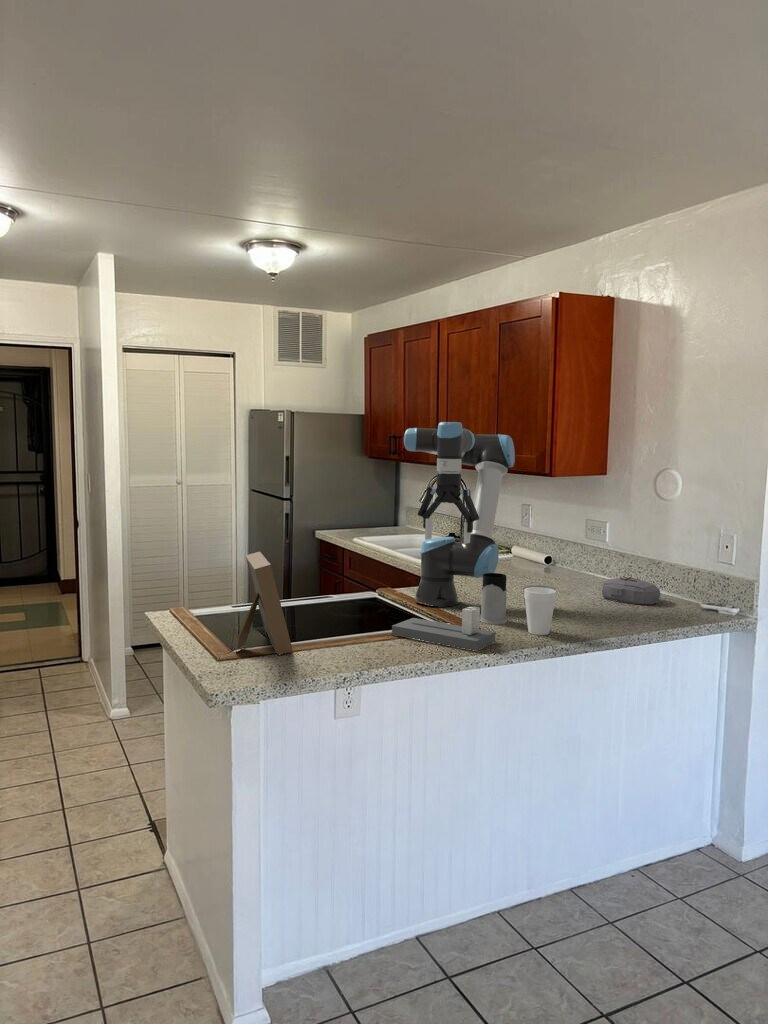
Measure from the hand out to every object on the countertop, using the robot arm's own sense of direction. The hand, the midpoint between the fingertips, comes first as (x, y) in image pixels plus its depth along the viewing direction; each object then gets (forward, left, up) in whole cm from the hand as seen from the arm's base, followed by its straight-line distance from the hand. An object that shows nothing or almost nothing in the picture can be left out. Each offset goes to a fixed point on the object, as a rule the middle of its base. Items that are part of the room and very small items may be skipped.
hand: (447, 541), depth 239 cm
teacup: (+15, +39, -27) cm, 50 cm away
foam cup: (+27, +10, -27) cm, 39 cm away
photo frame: (-31, -51, -27) cm, 65 cm away
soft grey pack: (+37, +73, -27) cm, 87 cm away
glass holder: (+9, +17, -27) cm, 33 cm away
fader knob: (+16, -14, -23) cm, 32 cm away
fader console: (+7, -14, -27) cm, 31 cm away
